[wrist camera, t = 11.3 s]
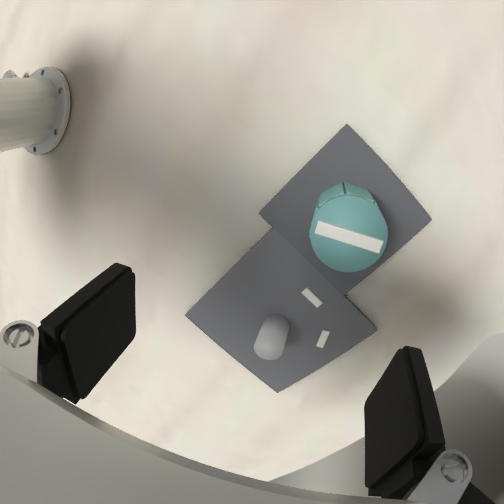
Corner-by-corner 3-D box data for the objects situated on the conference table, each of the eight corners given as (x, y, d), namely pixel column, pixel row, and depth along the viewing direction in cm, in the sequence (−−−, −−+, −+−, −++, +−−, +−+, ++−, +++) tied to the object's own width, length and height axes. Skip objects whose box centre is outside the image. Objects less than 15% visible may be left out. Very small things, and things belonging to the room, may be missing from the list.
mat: (259, 212, 31) (258, 213, 31) (346, 123, 26) (346, 123, 25) (342, 293, 32) (342, 295, 32) (430, 218, 27) (431, 219, 26)
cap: (307, 235, 30) (300, 261, 24) (324, 175, 28) (322, 187, 22) (366, 253, 29) (372, 283, 24) (386, 195, 27) (399, 212, 21)
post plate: (186, 313, 38) (168, 335, 34) (274, 226, 31) (263, 243, 27) (278, 390, 39) (270, 417, 35) (376, 328, 32) (380, 356, 28)
